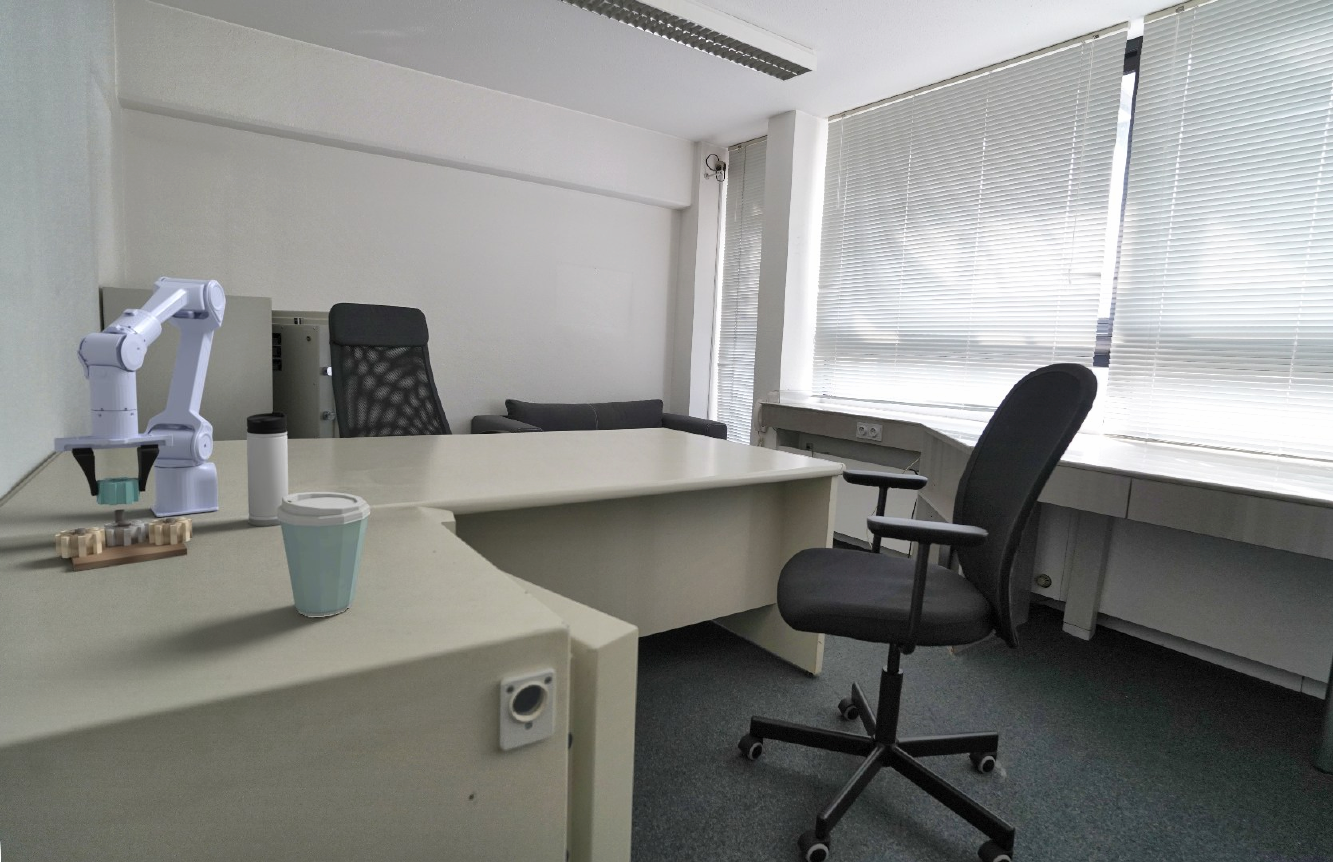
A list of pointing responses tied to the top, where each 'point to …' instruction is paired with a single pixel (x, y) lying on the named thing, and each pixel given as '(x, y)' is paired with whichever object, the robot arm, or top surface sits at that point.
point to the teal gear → (118, 491)
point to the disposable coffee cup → (323, 548)
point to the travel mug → (266, 466)
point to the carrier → (124, 542)
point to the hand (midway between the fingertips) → (118, 492)
